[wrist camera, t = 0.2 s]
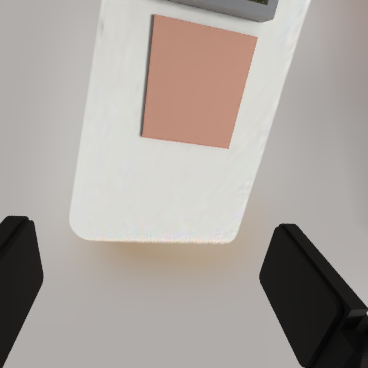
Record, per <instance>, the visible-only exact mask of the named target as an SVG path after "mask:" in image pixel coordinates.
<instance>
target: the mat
mask: <svg viewBox="0 0 368 368" xmlns="http://www.w3.org/2000/svg"><path fill="white" fill-rule="evenodd" d="M257 38H258V37H254V36H250V35H245V34H241V33H236V32H232V31H228V30H223V29H219V28H214V27H210V26H205V25H201V24H196V23H192V22H187V21H183V20H178V19H174V18H169V17H165V16H160V15H156V14H155V17H154V27H153V36H152V46H151V56H150V66H149V75H148V85H147V95H146V105H145V114H144V124H143V134H142V137H145V138H152V139H160V140H167V141H175V142H182V143H190V144H197V145H205V146H212V147H220V148H227V149H229V145H230V141H231V137H232V133H233V130H234V126H235V122H236V118H237V114H238V111H239V107H240V103H241V99H242V95H243V92H244V88H245V84H246V80H247V76H248V73H249V69H250V65H251V61H252V57H253V54H254V50H255V46H256V42H257Z"/></svg>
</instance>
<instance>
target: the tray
mask: <svg viewBox="0 0 368 368" xmlns="http://www.w3.org/2000/svg"><path fill="white" fill-rule="evenodd" d="M169 1H173V2H177V3H181V4H186V5H190V6H194V7H198V8H203V9H207V10H211V11H215V12H220V13H224V14H228V15H232V16H237V17H241V18H245V19H249V20H254V21H258V22H265V21H269V20H272V19H273V18H274V15H275V11H276V8H277V4H278V0H259V2H258V3H256V2H252V1H248V0H169Z"/></svg>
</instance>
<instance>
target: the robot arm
mask: <svg viewBox="0 0 368 368" xmlns="http://www.w3.org/2000/svg"><path fill="white" fill-rule="evenodd" d="M259 279H260V283H261V285H262V287H263V289H264V291H265V293H266V295H267V297H268V300H269V301H270V304H271V306H272V308H273V310H274V312H275V314H276V316H277V318H278V320H279V322H280V324H281V327H282V329H283V331H284V333H285V335H286V337H287V339H288V341H289V343H290V345H291V347H292V349H293V351H294V353H295V356H296V358H297V360H298V362H299V364H300V365H301V366H302V367H305V368H368V316H367V314H366V313H367V311H368V308H367V306H366V305H365V304H364V303H363V302H362V301H361V299H360V298H359V297H358V296H357V295H356V294H355V292H354V291H353V290H352V289H351V288H350V287H349V285H348V284H347V283H346V282H345V281H344V280H343V278H342V277H341V276H340V275H339V274H338V273H337V271H336V270H335V269H334V268H333V267H332V266H331V265H330V263H329V262H328V261H327V260H326V259H325V257H324V256H323V255H322V254H321V253H320V252H319V250H318V249H317V248H316V247H315V246H314V245H313V243H312V242H311V241H310V240H309V239H308V238H307V236H306V235H305V234H304V233H303V232H302V231H301V229H300V228H299V227H298V226H297V225H296V224H280V225H279V226H278V227H276V228H275V230H274V233H273V236H272V239H271V242H270V245H269V248H268V250H267V253H266V256H265V259H264V262H263V265H262V268H261V271H260V274H259ZM42 282H43V270H42V264H41V259H40V253H39V248H38V242H37V236H36V231H35V225H34V222H33V221H32V220H31V221H30V220H29V218H28V217H26V216H7V217H6V218H5V219H4V220H3V221H2V222H1V223H0V368H3V365H4V363H5V361H6V359H7V357H8V354H9V353H10V351H11V349H12V347H13V345H14V342H15V340H16V338H17V336H18V334H19V332H20V330H21V328H22V326H23V323H24V321H25V319H26V317H27V315H28V313H29V311H30V309H31V306H32V304H33V302H34V300H35V298H36V296H37V294H38V292H39V290H40V288H41V285H42Z"/></svg>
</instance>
